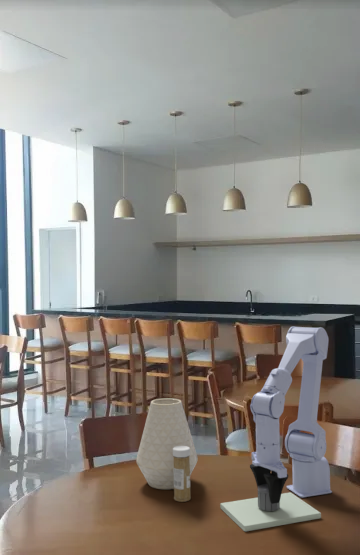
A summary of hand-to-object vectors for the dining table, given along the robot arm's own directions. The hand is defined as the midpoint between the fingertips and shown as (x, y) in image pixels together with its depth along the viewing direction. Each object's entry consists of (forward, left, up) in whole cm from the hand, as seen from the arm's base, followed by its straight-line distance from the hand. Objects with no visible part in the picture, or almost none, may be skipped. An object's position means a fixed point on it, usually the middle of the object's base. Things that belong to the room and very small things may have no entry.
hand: (269, 498), depth 132 cm
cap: (0, 0, -2) cm, 2 cm away
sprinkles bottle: (+17, -16, -4) cm, 24 cm away
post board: (0, 0, -4) cm, 4 cm away
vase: (+17, -29, -4) cm, 34 cm away
